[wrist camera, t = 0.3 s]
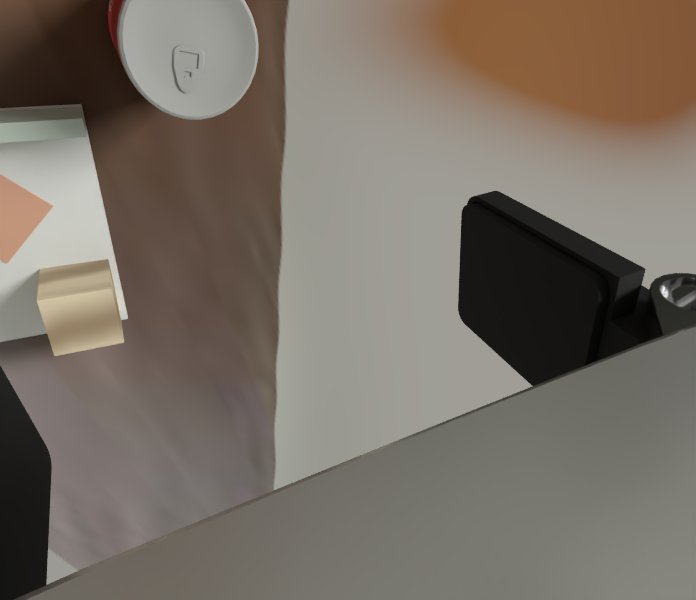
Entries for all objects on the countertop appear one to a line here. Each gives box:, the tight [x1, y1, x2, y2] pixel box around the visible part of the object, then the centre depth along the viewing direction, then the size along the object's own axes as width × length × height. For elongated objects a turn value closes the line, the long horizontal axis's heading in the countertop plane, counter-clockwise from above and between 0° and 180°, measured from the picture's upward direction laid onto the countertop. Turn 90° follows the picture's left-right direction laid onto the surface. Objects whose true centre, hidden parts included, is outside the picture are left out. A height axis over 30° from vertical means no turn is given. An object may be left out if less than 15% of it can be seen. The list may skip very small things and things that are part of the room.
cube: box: [37, 259, 124, 356], centre depth 43 cm, size 5×5×5 cm
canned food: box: [108, 0, 259, 119], centre depth 34 cm, size 8×8×11 cm
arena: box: [0, 104, 128, 342], centre depth 39 cm, size 18×14×4 cm
